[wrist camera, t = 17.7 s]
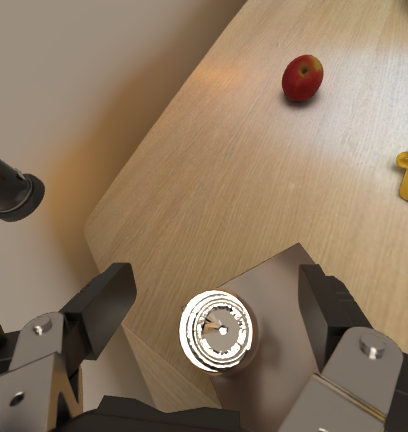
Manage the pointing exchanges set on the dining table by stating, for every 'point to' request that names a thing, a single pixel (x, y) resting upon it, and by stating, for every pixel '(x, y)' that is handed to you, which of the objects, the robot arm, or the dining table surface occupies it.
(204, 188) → the dining table surface
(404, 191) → the teapot
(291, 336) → the shelf
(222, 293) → the wineglass
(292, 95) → the apple
